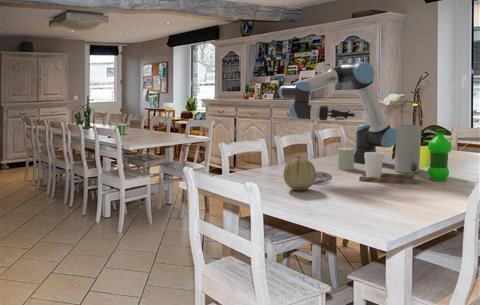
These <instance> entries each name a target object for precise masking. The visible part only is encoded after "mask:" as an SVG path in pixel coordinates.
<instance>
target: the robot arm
mask: <svg viewBox="0 0 480 305" xmlns="http://www.w3.org/2000/svg"><path fill="white" fill-rule="evenodd" d="M375 74H376V73H375V69H374V67H373V65H372V64H370V63H369V62H367V61H357V62H346V63H341V64H340V65H337V66H334V67H332V68H329V69H328V70H327V71H325V72H323V73H320V74H316V75H315V76H312V77H311V76H310V77H309V78H308V77H307V78H306V79H305V78H304V79H302V80H298V81H296V82H294V83H291V84H288V85H286V84H285V85H281V86H280V87H279V88H278V91H277V92H278V94H277V95H278V96H279V98H280V99H282V100H294V102H293V103H292V104H291V103H290V106H289V117H290V118H291V119H295V120H310V121H311V120H312V122H314V121H318V120H319V121H327V120H328V117H330V118H344V119H345V120H346V119H348V118H350V119H351V118H352V119H362V118H363V116H364V113H365V115H366V117H367V120H368V123H367V124H359V125H357V127H356V132H355V133H356V136H355V138H356V142H355V143H356V144H355V150H354V163H359V164H365V158H364V153H366V152H377V149H376V148H377V147H380V148H384V149H385V148H387V149H389V148H392V147H393V146H395V145H396V128H393V127H391V125H390V122H389V121H387V120H386V119H385V117H384V114H383V112H382V108H381V107H380V106H381V105H380V104H379V100H378V98H377V95H376V92H375V91H374V87H373V83H374V79H375ZM341 84H342V85H344V84H348V85H349V84H350V85H351V87H352V89H353V90H354V91H356V92H357V94H358V98H359V100H360V102H361V105H362V107H363V109H364V112H360V111H351V110H347V111H340V110H337V109H330V110H329V107H328V105H318V104H317V105H315V104H310V94H311V92H314V91H317V90H320V89H322V88H326V87H328V86H337V85H341Z"/></svg>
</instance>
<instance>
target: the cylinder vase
mask: <svg viewBox="0 0 480 305" xmlns="http://www.w3.org/2000/svg"><path fill="white" fill-rule="evenodd" d="M395 130H396V143H395V149H394V150H395V151H394V152H395V155H394V171H395V172H396V173H398V174H409V175H412V170H411V164H412V163H413V162H415V163H417V170H416V171H415V174H418V173H420V160H421V143H422V141H421V140H422V125H419V124H397V125H396V128H395Z"/></svg>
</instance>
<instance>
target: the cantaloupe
mask: <svg viewBox="0 0 480 305" xmlns="http://www.w3.org/2000/svg"><path fill="white" fill-rule="evenodd" d="M282 173H283V179H284V182H285V184H286V185H287V186H288V187H289V188H290V189H292V190H293V191H294V190H295V191H298V192H299V191H300V192H302V191H305V190H308V189H309V188H311V187H312V186H313V185H314V183H315V181H316V178H317V171H316V168H315V166H314V164H313V163H312V162H311V161H310V160H309V159H305V158H302V157H300V156H297V157H296V158H292V159H290V160H289V161H288V162H287V163H286V164H285V167H284V169H283V172H282Z"/></svg>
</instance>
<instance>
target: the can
mask: <svg viewBox="0 0 480 305" xmlns="http://www.w3.org/2000/svg"><path fill="white" fill-rule="evenodd" d="M354 154H355V148H353V147H338V148H337V168H336V169H337V170H340V171H353V170H354V169H355V167H354V166H355V164H354V163H355V162H354Z"/></svg>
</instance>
